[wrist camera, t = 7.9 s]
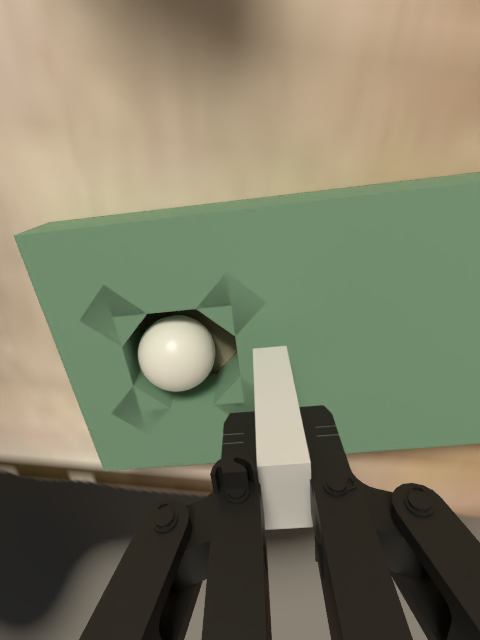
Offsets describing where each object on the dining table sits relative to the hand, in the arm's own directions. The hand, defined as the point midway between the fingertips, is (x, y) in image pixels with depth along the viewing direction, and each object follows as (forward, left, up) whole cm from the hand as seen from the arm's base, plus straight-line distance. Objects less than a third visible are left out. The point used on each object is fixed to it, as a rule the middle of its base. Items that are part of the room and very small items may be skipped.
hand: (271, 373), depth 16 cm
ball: (-5, 0, -3) cm, 5 cm away
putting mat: (+4, 0, -5) cm, 6 cm away
